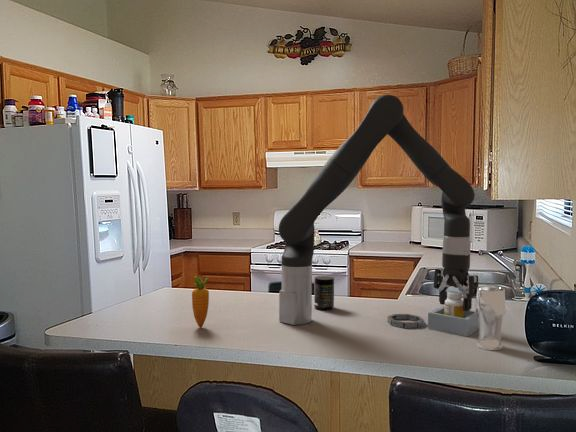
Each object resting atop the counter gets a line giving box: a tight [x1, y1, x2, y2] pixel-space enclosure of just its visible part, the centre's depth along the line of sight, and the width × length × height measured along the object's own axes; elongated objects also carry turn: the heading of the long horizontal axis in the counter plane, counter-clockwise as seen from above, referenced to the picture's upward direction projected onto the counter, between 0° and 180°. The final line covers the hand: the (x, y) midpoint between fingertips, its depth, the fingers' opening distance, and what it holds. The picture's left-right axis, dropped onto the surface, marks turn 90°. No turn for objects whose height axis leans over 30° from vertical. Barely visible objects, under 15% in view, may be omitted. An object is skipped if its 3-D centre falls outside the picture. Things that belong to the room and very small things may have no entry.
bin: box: [427, 305, 478, 337], centre depth 136 cm, size 11×11×5 cm
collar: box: [386, 313, 425, 329], centre depth 141 cm, size 10×10×2 cm
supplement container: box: [313, 275, 335, 311], centre depth 158 cm, size 7×7×10 cm
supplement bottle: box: [444, 291, 464, 318], centre depth 136 cm, size 5×5×10 cm
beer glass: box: [475, 285, 506, 351], centre depth 120 cm, size 7×7×15 cm
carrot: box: [191, 275, 210, 328], centre depth 135 cm, size 5×5×15 cm
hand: (454, 307), depth 136 cm, fingers open, 8 cm apart
